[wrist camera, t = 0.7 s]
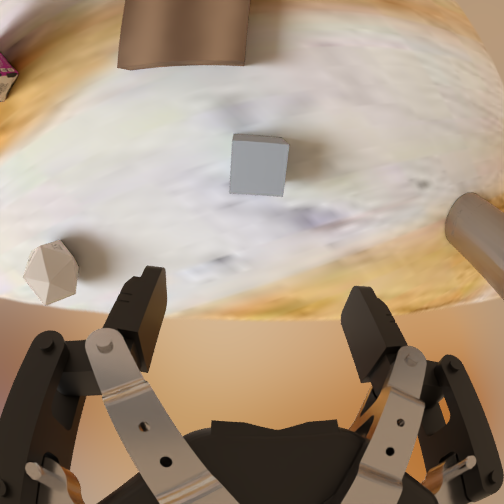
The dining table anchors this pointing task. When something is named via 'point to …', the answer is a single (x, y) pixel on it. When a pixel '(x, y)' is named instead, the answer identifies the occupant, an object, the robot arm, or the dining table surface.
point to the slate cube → (258, 165)
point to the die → (51, 272)
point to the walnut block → (183, 33)
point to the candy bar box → (6, 77)
